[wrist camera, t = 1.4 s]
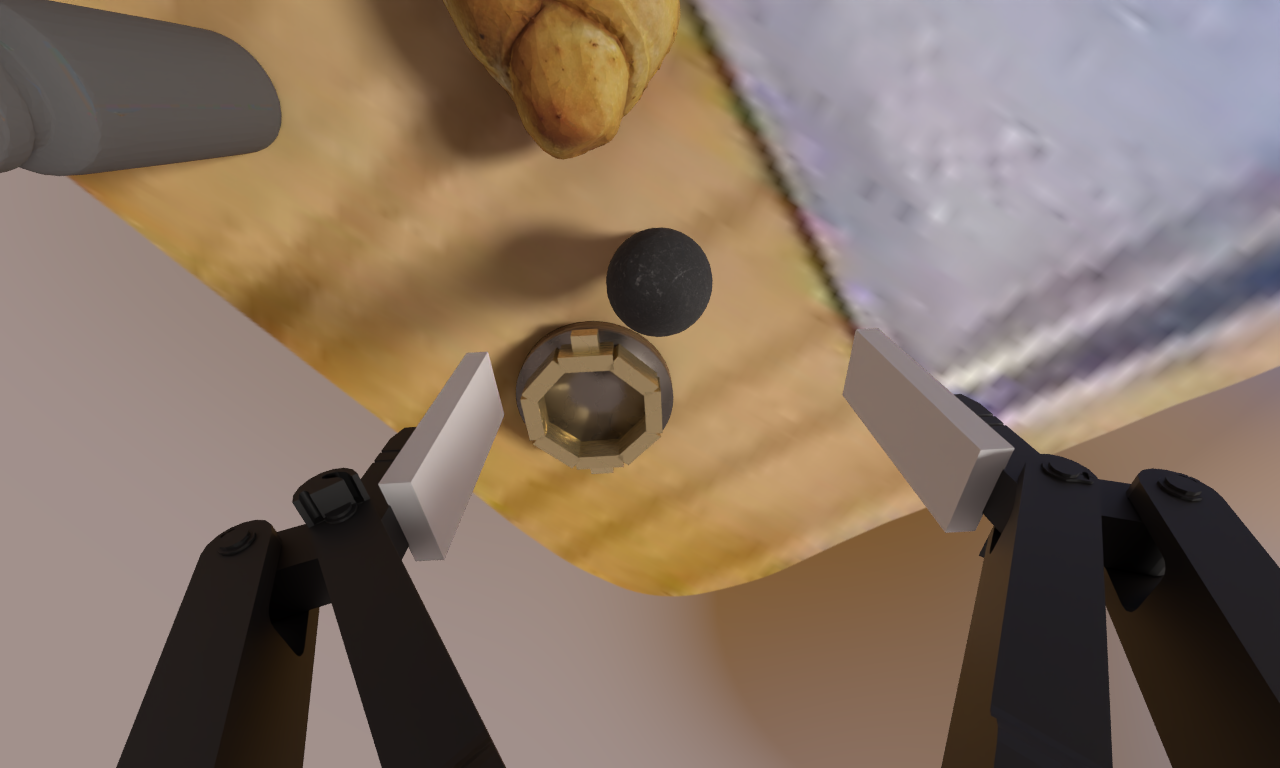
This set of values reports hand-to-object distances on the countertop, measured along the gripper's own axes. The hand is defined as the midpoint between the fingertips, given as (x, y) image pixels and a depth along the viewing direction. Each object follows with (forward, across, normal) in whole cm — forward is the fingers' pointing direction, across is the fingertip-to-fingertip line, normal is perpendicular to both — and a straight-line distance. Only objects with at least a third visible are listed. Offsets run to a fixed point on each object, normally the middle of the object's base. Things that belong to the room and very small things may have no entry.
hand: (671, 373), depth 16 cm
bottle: (+16, -23, +10) cm, 30 cm away
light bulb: (+16, 0, 0) cm, 16 cm away
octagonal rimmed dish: (+16, -5, -11) cm, 20 cm away
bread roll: (+16, -4, +14) cm, 22 cm away
